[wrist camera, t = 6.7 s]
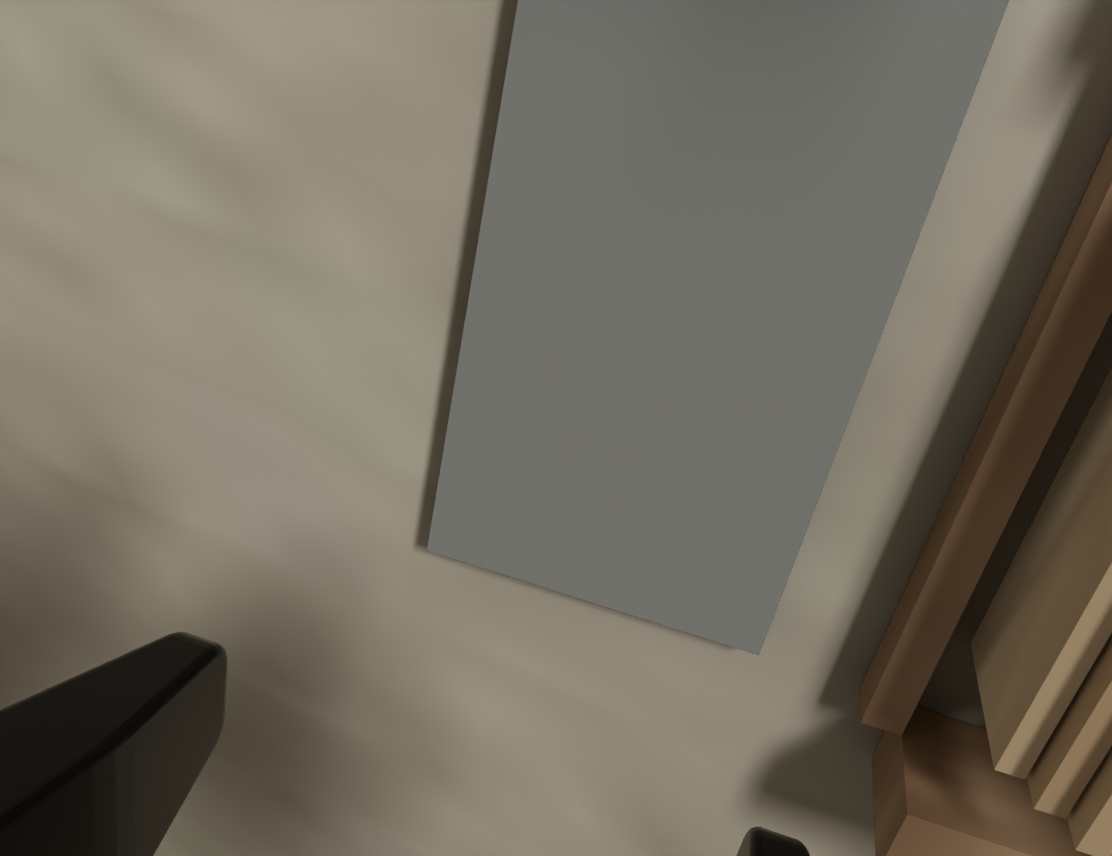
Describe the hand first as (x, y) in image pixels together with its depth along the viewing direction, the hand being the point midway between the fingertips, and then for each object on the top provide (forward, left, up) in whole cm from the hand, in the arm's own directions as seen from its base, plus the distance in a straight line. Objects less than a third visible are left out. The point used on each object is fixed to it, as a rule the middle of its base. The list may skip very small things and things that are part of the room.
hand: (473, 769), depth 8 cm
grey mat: (0, 0, -12) cm, 12 cm away
